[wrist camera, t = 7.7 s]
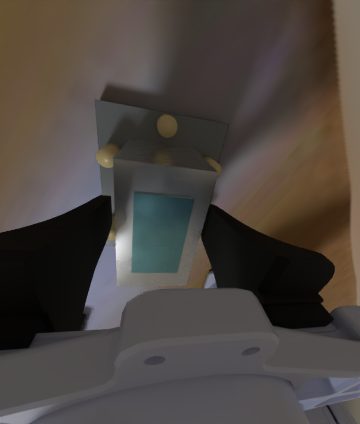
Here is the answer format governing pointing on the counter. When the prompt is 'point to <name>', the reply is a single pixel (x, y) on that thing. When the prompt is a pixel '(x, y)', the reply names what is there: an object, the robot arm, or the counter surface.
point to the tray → (150, 138)
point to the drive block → (159, 211)
